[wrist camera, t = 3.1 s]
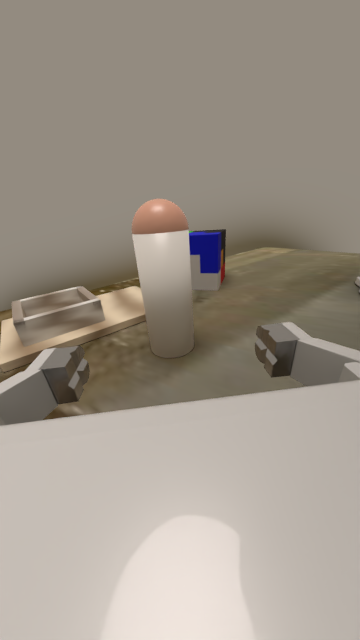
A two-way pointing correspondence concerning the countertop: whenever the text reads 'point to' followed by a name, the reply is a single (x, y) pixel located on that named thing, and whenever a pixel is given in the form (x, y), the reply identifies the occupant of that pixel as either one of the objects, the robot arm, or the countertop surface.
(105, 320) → the jig cradle
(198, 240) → the puzzle toy
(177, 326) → the dome-capped white cylinder
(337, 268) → the countertop surface
